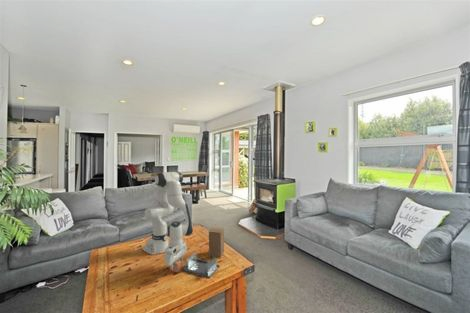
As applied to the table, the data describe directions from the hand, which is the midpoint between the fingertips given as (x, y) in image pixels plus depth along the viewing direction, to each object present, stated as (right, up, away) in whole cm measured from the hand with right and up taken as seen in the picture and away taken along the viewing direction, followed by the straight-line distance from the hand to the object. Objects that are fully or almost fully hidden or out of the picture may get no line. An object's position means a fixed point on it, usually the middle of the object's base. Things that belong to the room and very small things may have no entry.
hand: (176, 265), depth 145 cm
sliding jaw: (+10, -2, +4) cm, 11 cm away
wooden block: (+26, -3, +22) cm, 35 cm away
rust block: (-1, -4, 0) cm, 4 cm away
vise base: (+17, -3, +1) cm, 18 cm away
